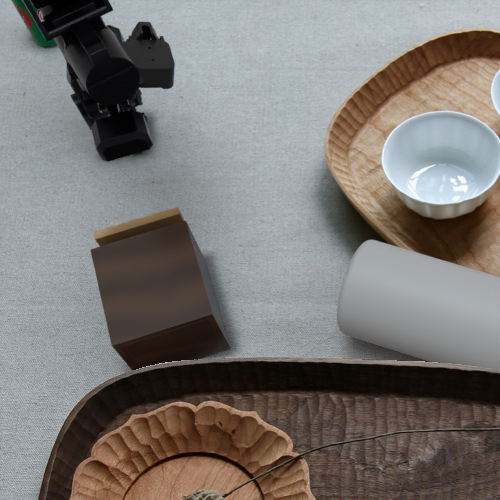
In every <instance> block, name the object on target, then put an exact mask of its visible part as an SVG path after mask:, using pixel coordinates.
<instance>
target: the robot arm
mask: <svg viewBox="0 0 500 500" xmlns="http://www.w3.org/2000/svg"><path fill="white" fill-rule="evenodd" d="M22 1H23V2H24V4H25V6H26V7H27V9H28V11H29V13H30V14H31V16H32V18H33V19H34V21H35V23H36V24H37V26H38V28H39V29H40V31H41V33H42V34H43V36H44V38H45V39H46V41H49V40H51V39H54V40H55V42H56V43H57V44H56V45H57V47H58V49H59V50H60V52H61V54H62V56H63V58H64V60H65V63H66V66H65V67H66V80H67V83H68V84H69V86H70V87H71V89H72V91H73V93H71V94H70V95H69V96H70V98H71V100H72V102H73V103H74V106H75V107H76V109H77V110H78V112H79V114H80V116H81V117H82V119H83V120H84V121H85V124H86V125H87V127H88V128H89V130H90V131H91V133H92V138H93V142H94V146H95V150H96V152H97V153H98V155H99V157H100V159H101V160H102V161H104V162H107V163H109V162H112V161H116V160H119V159H122V158H125V157H129V156H134V157H136V156H137V157H138V156H141V155H143V153H144V152H145V151H146V152H147V151H149V150H151V149H152V147H153V146H154V143H153V138H152V135H151V132H150V128H149V125H148V122H149V121H148V117H147V115H145V114H146V113H145V112H144V111H143V112H140V111H138V110H137V107H141V106H142V105H144V104H143V98H142V91H141V89H162V90H169V89H172V88H173V87H174V85H175V68H176V67H175V66H176V63H175V62H176V61H175V59H174V56H173V52H172V49H171V46H170V44H169V43H168V42H167V41H165V37H164V35H159V37H158V34H157V32H156V30H155V28H154V26H153V25H152V23H151V22H150V21H138V22H137V23H136V25H135V26H134V28H133V29H132V31H131V35H130V34H129V35H128V37H127V39H125V38H124V36H123V34H122V31H121V30H120V28H119V27H116V26H114V25H111V24H107V25H106V23H105V21H104V19H103V17H102V16H105V15H107V14H109V13H111V12H113V11H114V8H113V6H112V4H111V2H110V0H30V1H31V3H32V4H33V6H34V7H35V9H40V11H41V13H42V15H43V19H44V21H42V22H41V20H40V19H39V17H38V15H37V13H36V12H35V10H34V8H33V7H32V5H31V3H30V1H29V0H22Z"/></svg>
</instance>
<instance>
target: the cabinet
mask: <svg viewBox="0 0 500 500" xmlns="http://www.w3.org/2000/svg"><path fill="white" fill-rule="evenodd" d="M184 220H185V219H184ZM90 255H91V259H92V263H93V268H94V273H95V277H96V281H97V286H98V290H99V295H100V300H101V304H102V309H103V313H104V317H105V321H106V326H107V327H106V328H107V330H108V331H107V332H108V335H109V340H110V345H111V347H112V348H113V349H114V350H115V351H116V352H117V354H118V355H119V356H120V358H121V359H122V360H123V361H124V363H126V365H127V366H128V368H130V369H131V371H132V370H136V369H139V368H142V367H146V366H150V365H155V364H159V363H165V362H172V361H181V360H194V359H197V360H199V359H204V358H206V357H209V356H213V355H215V354H219V353H222V352H225V351H228V350H231V349H232V347H231V344H230V341H229V340H230V339H229V336H228V333H227V329H226V326H225V323H224V319H223V316H222V312H221V309H220V305H219V302H218V298H217V295H216V291H215V288H214V284H213V281H212V278H211V274H210V270H209V268H208V267H209V266H208V262H207V260H206V258H205V256H204V254H203V252H202V250H201V248H200V246H199V244H198V242H197V240H196V237H195V236H194V234H193V232H192V230H191V228H190V226H189V223H188V222H187V220H185V221H182V222H179V223H175V224H172V225H169V226H165V227H162V228H159V229H156V230H152V231H149V232H146V233H143V234H139V235H136V236H133V237H130V238H126V239H123V240H120V241H116V242H113V243H110V244H107V245H103V246H96V247H94V248H91V249H90ZM194 361H195V360H194Z"/></svg>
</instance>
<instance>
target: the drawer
mask: <svg viewBox="0 0 500 500" xmlns="http://www.w3.org/2000/svg"><path fill="white" fill-rule="evenodd" d="M182 221H185V218H184V216H183V214H182V212H181V210H180V208H179V206H175V207H172V208H169V209H166V210H162V211H158V212H156V213H153V214H149V215H146V216H142V217H139V218H136V219H133V220H130V221H126V222H123V223H119V224H116V225H112V226H110V227H106V228H103V229H100V230H97V231H93V238H94V240H95V242H96V244H97V246H98V247H100V246H103V245H107V244H110V243H113V242H116V241H120V240H123V239H126V238H130V237H133V236H136V235H139V234H143V233H146V232H149V231H152V230H156V229H159V228H162V227H165V226H169V225H172V224H175V223H179V222H182Z"/></svg>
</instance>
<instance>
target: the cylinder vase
mask: <svg viewBox="0 0 500 500" xmlns="http://www.w3.org/2000/svg"><path fill="white" fill-rule="evenodd" d="M336 322H337V326H338V329H339V330H340V332H341V333H342V334H343V335H345V336H348V337H351V338H354V339H358V340H360V341H364V342H367V343H369V344H372V345H376V346H379V347H382V348H385V349H388V350H392V351H395V352H398V353H401V354H404V355H407V356H410V357H413V358H416V359H420V360H423V361H426V362H429V363H432V362H438V363H452V364H462V365H471V366H479V367H483V368H491V369H489V370H495V372H498V373H500V276H498V275H494V274H492V273H491V274H490V273H489V272H488V273H487V272H484V271H481V270H477V269H474V268H471V267H467V266H463V265H460V264H457V263H455V262H451V261H446V260H443V259H441V258H436V257H434V256H430V255H427V254H423V253H420V252H416V251H413V250H410V249H406V248H403V247H401V246H396V245H393V244H389V243H386V242H382V241H380V240H376V239H368V240H365V241H363V242H362V243H361V244H360V245H359V246H358V248H357V249H356V250H355V252H354V253H353V255H352V257H351V259H350V261H349V263H348V265H347V267H346V271H345V273H344V277H343V280H342V283H341V286H340V291H339V295H338V300H337V308H336Z"/></svg>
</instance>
